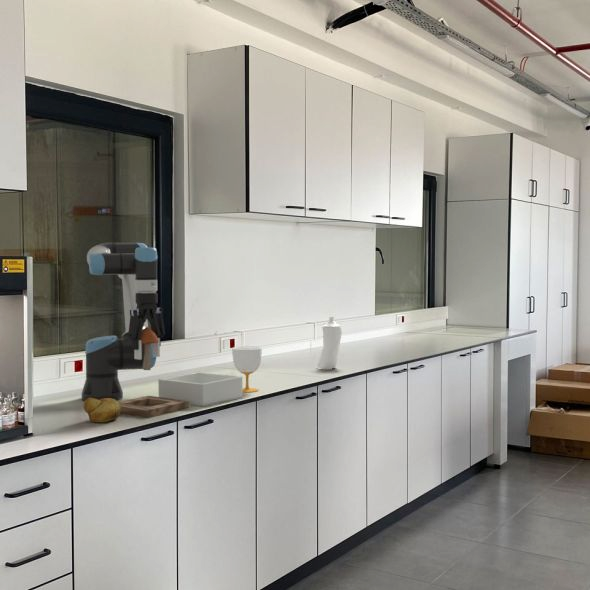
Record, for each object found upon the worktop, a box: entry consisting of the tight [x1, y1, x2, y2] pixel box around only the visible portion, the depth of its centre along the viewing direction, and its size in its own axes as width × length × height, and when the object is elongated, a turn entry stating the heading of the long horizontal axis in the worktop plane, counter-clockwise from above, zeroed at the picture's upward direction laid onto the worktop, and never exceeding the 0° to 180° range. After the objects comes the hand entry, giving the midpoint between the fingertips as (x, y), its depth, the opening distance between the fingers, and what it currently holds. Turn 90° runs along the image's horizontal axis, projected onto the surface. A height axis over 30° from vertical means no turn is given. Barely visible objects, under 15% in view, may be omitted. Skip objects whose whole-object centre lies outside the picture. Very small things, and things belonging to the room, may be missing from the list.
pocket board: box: [117, 395, 190, 419], centre depth 262 cm, size 20×20×2 cm
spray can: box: [316, 316, 343, 370], centre depth 364 cm, size 12×11×25 cm
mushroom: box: [139, 326, 159, 371], centre depth 261 cm, size 8×8×15 cm
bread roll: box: [83, 397, 121, 423], centre depth 245 cm, size 13×10×8 cm
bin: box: [158, 371, 243, 408], centre depth 282 cm, size 22×22×8 cm
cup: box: [231, 346, 263, 393], centre depth 301 cm, size 12×12×17 cm
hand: (147, 357), depth 262 cm, fingers closed on mushroom, 8 cm apart
